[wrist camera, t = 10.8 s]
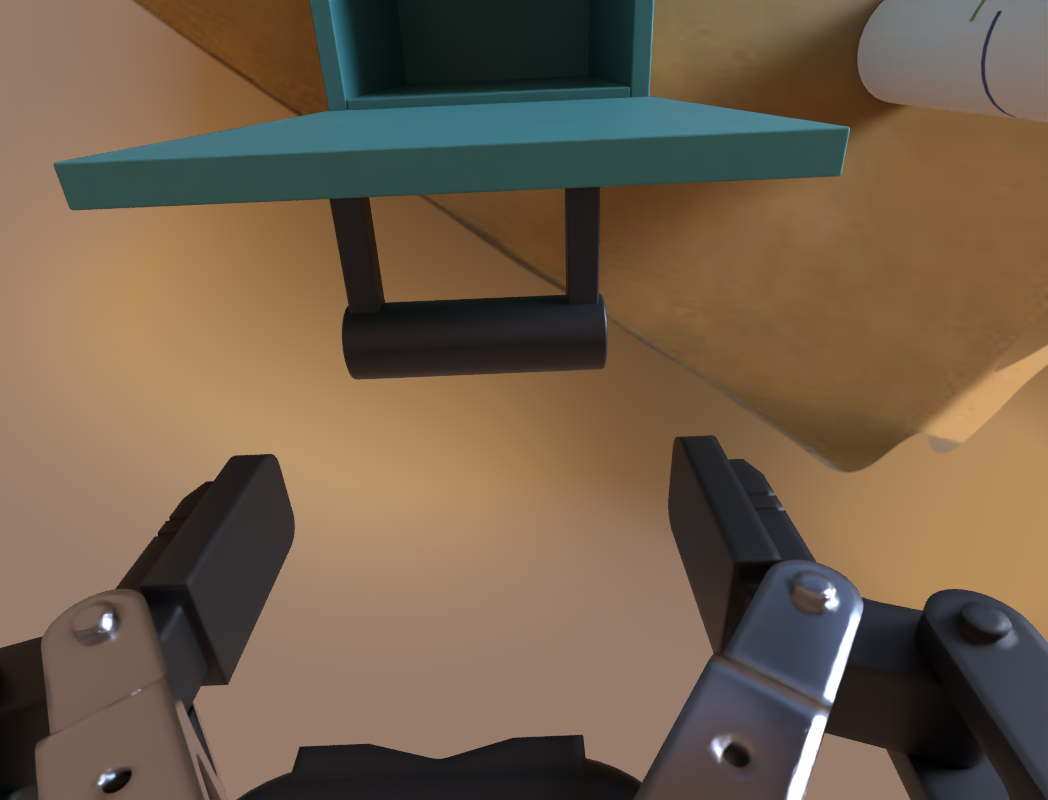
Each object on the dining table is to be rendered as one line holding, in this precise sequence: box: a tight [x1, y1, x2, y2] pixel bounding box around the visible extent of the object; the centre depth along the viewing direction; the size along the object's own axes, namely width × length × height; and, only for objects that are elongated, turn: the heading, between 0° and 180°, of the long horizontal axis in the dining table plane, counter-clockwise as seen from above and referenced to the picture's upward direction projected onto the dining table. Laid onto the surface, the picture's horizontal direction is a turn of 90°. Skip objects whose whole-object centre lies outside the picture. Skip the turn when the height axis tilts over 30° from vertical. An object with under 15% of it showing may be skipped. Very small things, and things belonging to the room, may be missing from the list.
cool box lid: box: [54, 97, 850, 379], centre depth 19 cm, size 17×14×5 cm
